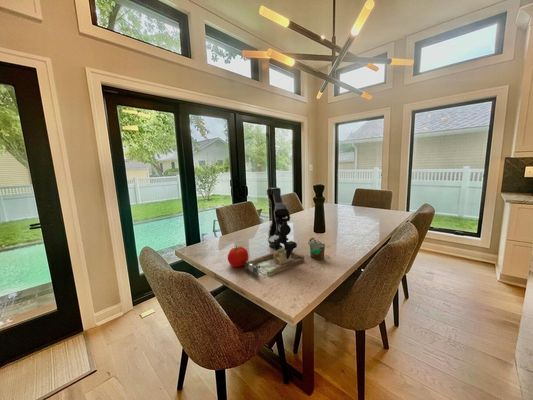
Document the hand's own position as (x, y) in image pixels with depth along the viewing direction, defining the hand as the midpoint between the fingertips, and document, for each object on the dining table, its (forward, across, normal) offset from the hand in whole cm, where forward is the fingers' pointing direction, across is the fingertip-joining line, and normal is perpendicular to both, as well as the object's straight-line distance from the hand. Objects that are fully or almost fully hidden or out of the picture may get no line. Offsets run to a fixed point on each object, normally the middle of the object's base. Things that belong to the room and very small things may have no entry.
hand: (282, 256), depth 126 cm
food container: (+3, +9, +17) cm, 19 cm away
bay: (+3, 0, -5) cm, 6 cm away
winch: (+3, +1, -20) cm, 20 cm away
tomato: (+3, -12, -22) cm, 25 cm away
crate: (+3, 0, 0) cm, 3 cm away
